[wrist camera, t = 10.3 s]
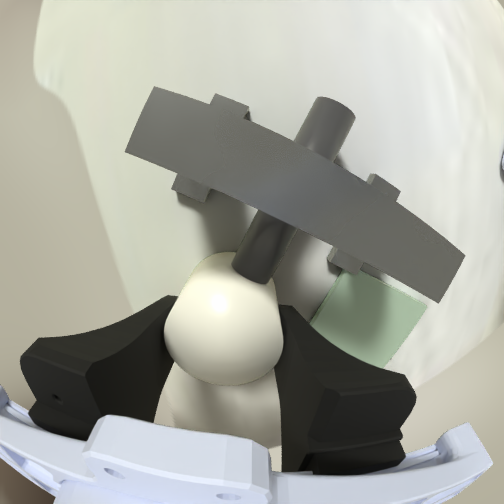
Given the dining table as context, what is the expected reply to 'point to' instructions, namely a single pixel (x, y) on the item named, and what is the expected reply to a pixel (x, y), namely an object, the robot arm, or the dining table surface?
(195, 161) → the bracket
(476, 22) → the dining table surface
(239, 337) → the plug
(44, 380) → the robot arm
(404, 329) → the pad
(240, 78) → the dining table surface
